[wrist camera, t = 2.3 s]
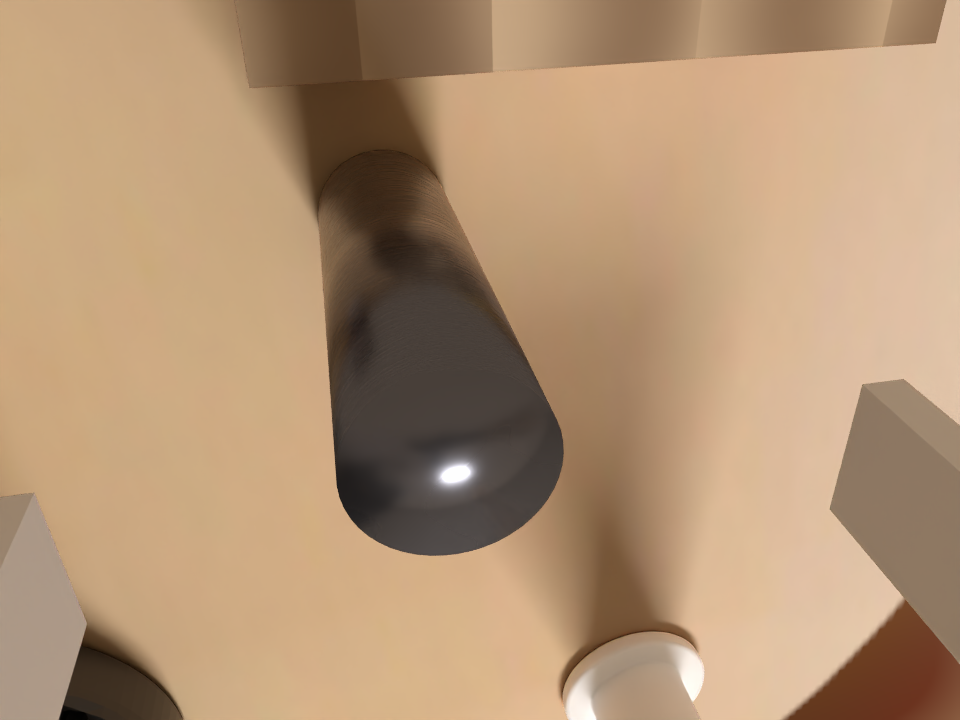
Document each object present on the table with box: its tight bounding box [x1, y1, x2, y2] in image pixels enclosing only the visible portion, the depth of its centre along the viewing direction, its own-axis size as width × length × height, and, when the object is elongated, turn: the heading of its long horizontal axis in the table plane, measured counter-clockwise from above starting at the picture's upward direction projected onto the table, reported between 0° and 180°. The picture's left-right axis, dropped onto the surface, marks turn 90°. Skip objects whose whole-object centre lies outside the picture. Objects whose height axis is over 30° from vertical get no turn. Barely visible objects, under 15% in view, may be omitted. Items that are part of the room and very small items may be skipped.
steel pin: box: [318, 150, 564, 556], centre depth 19 cm, size 4×4×13 cm
